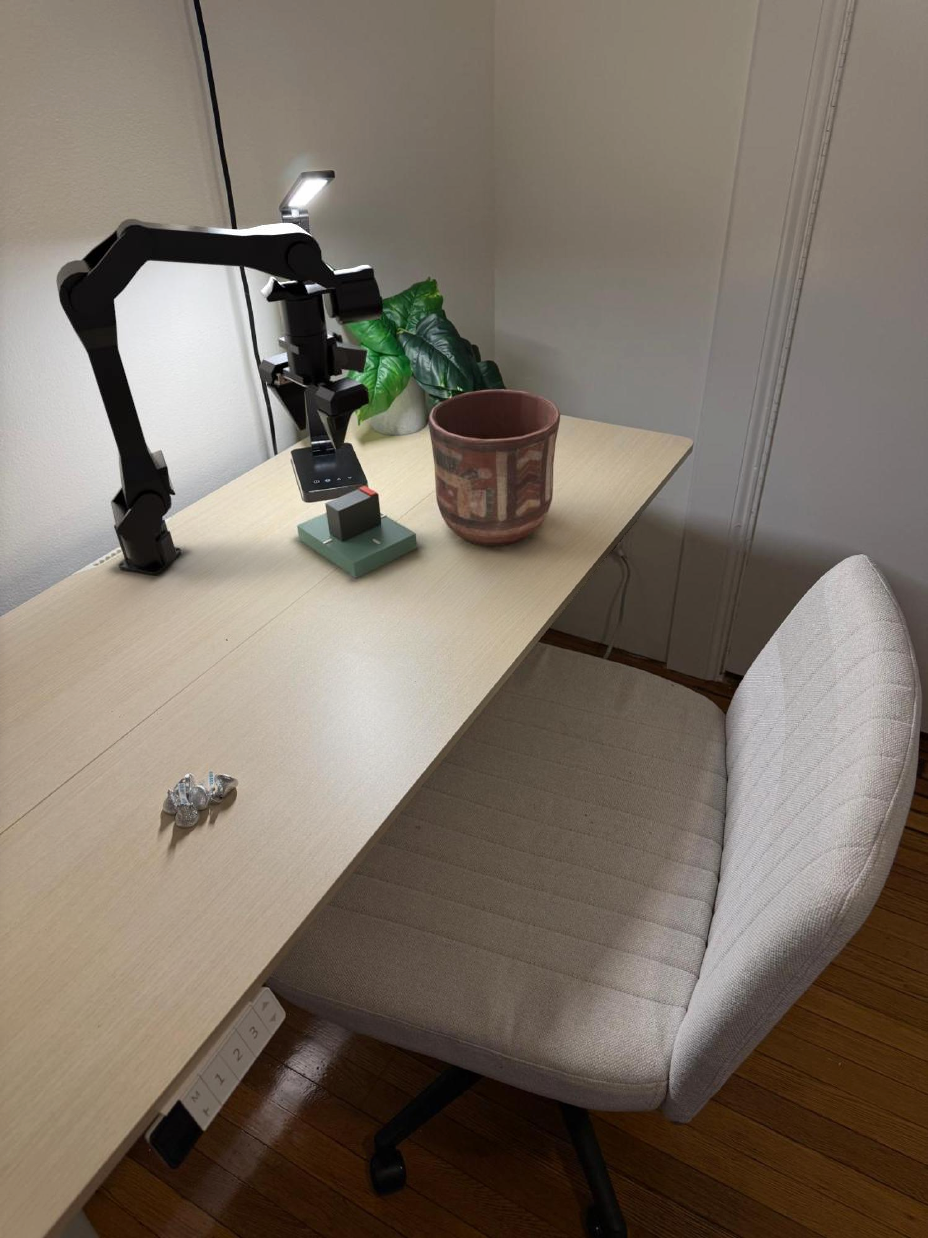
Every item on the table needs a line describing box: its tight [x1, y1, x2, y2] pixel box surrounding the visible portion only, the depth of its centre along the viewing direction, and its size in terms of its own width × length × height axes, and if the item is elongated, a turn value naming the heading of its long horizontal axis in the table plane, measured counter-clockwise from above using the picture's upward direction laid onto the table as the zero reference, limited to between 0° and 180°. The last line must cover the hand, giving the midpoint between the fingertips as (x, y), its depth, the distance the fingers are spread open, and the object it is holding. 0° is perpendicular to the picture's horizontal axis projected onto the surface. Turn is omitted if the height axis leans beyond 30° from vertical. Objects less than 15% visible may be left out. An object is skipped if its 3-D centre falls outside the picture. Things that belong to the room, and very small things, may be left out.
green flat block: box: [296, 512, 418, 579], centre depth 119 cm, size 14×11×3 cm
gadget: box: [324, 485, 381, 542], centre depth 116 cm, size 7×3×5 cm, turn 132°
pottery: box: [428, 389, 561, 547], centre depth 117 cm, size 18×18×18 cm
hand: (320, 439), depth 118 cm, fingers open, 9 cm apart
